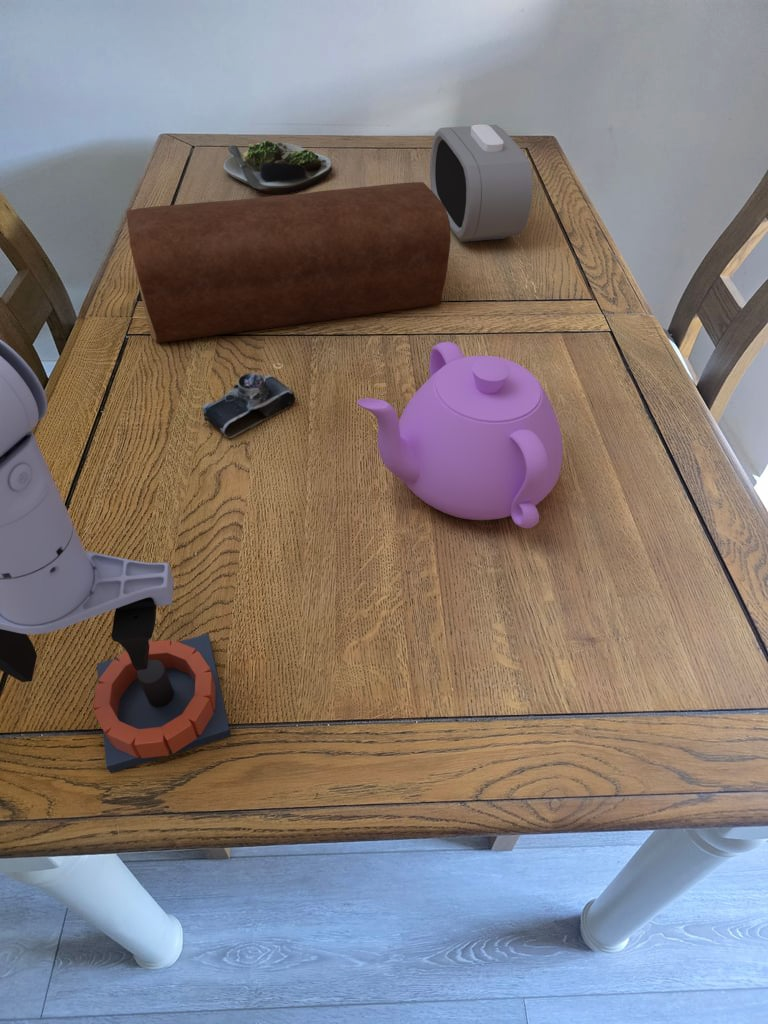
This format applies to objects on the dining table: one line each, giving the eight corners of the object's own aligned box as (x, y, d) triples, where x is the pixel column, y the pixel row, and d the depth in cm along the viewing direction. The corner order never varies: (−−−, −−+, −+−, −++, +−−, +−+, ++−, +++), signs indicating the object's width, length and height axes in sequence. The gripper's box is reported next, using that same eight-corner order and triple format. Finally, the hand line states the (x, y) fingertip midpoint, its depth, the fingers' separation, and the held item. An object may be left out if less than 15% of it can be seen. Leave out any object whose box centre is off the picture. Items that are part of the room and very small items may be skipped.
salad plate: (195, 169, 124) (190, 141, 120) (271, 142, 133) (269, 116, 130) (269, 205, 116) (266, 176, 112) (345, 174, 125) (345, 146, 121)
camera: (197, 420, 79) (191, 390, 76) (272, 383, 84) (269, 353, 81) (223, 443, 77) (218, 412, 74) (298, 404, 82) (296, 374, 79)
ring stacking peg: (110, 773, 52) (92, 744, 49) (100, 670, 58) (83, 638, 54) (231, 736, 55) (222, 706, 51) (210, 641, 60) (201, 607, 56)
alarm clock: (426, 197, 120) (433, 110, 110) (479, 193, 121) (490, 107, 111) (463, 257, 106) (474, 164, 96) (522, 251, 108) (539, 160, 98)
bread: (446, 310, 96) (457, 213, 86) (153, 351, 88) (128, 248, 78) (410, 255, 106) (417, 162, 96) (144, 287, 97) (120, 189, 87)
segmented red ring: (95, 764, 52) (86, 750, 50) (109, 661, 57) (101, 646, 55) (214, 750, 53) (209, 736, 51) (216, 650, 58) (212, 635, 56)
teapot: (319, 441, 78) (314, 333, 67) (490, 395, 84) (509, 290, 74) (405, 592, 64) (414, 486, 54) (600, 523, 71) (642, 416, 61)
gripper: (157, 478, 43) (194, 606, 53) (-98, 496, 41) (-10, 625, 51) (148, 569, 38) (190, 690, 48) (-140, 595, 37) (-34, 715, 47)
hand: (86, 663), depth 50 cm, fingers open, 7 cm apart
